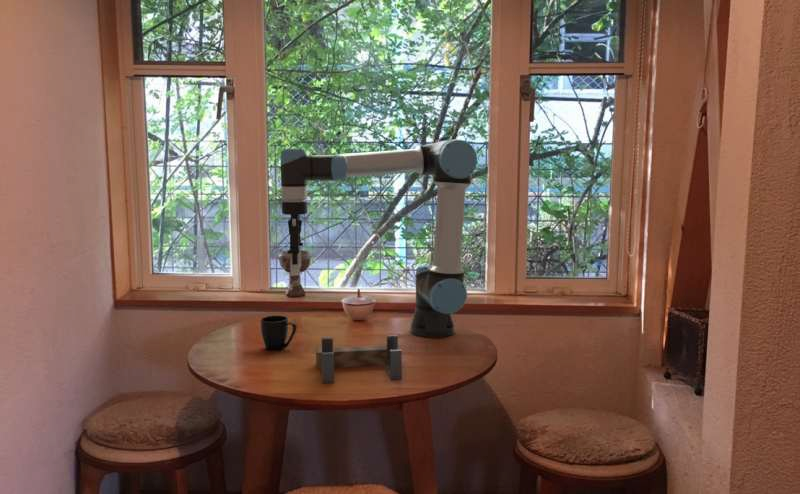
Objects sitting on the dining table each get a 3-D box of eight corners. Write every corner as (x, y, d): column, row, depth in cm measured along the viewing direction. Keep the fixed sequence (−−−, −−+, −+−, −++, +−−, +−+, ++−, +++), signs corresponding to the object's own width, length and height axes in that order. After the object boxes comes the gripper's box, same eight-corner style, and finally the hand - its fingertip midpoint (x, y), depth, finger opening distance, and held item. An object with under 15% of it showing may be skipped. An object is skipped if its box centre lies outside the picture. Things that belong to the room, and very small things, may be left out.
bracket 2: (397, 369, 176) (397, 334, 175) (401, 379, 168) (401, 343, 167) (386, 369, 176) (386, 335, 174) (390, 380, 168) (390, 343, 166)
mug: (287, 355, 188) (286, 324, 187) (256, 349, 194) (255, 320, 193) (303, 348, 196) (302, 318, 194) (273, 343, 201) (272, 314, 200)
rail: (398, 361, 184) (398, 344, 184) (400, 365, 181) (400, 348, 180) (316, 365, 180) (315, 348, 180) (316, 370, 177) (316, 352, 176)
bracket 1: (333, 372, 174) (332, 337, 172) (334, 382, 165) (333, 346, 164) (322, 372, 173) (321, 337, 172) (322, 383, 165) (322, 346, 164)
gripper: (283, 198, 198) (285, 264, 201) (278, 203, 173) (280, 279, 176) (307, 198, 199) (309, 264, 201) (306, 203, 174) (307, 278, 177)
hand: (296, 271), depth 189 cm, fingers open, 13 cm apart
